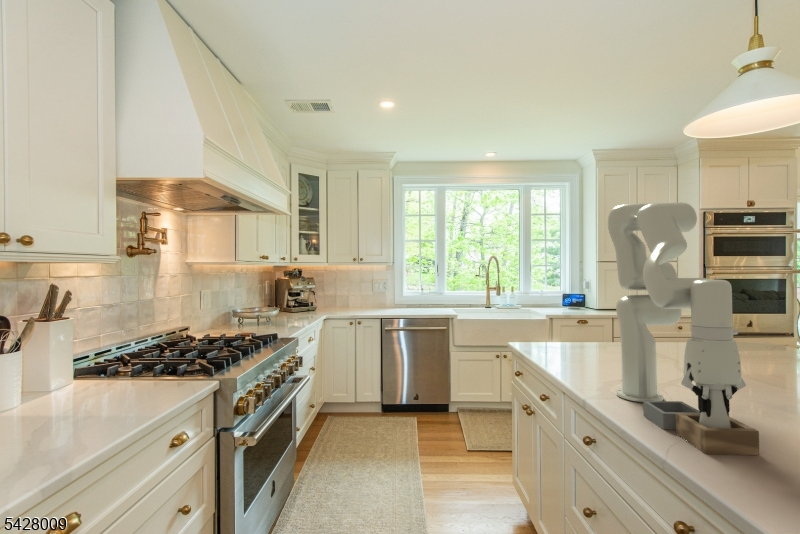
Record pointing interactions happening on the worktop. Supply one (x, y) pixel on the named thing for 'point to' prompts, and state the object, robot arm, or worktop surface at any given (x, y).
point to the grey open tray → (666, 412)
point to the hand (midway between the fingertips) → (713, 414)
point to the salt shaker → (716, 409)
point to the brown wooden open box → (718, 436)
